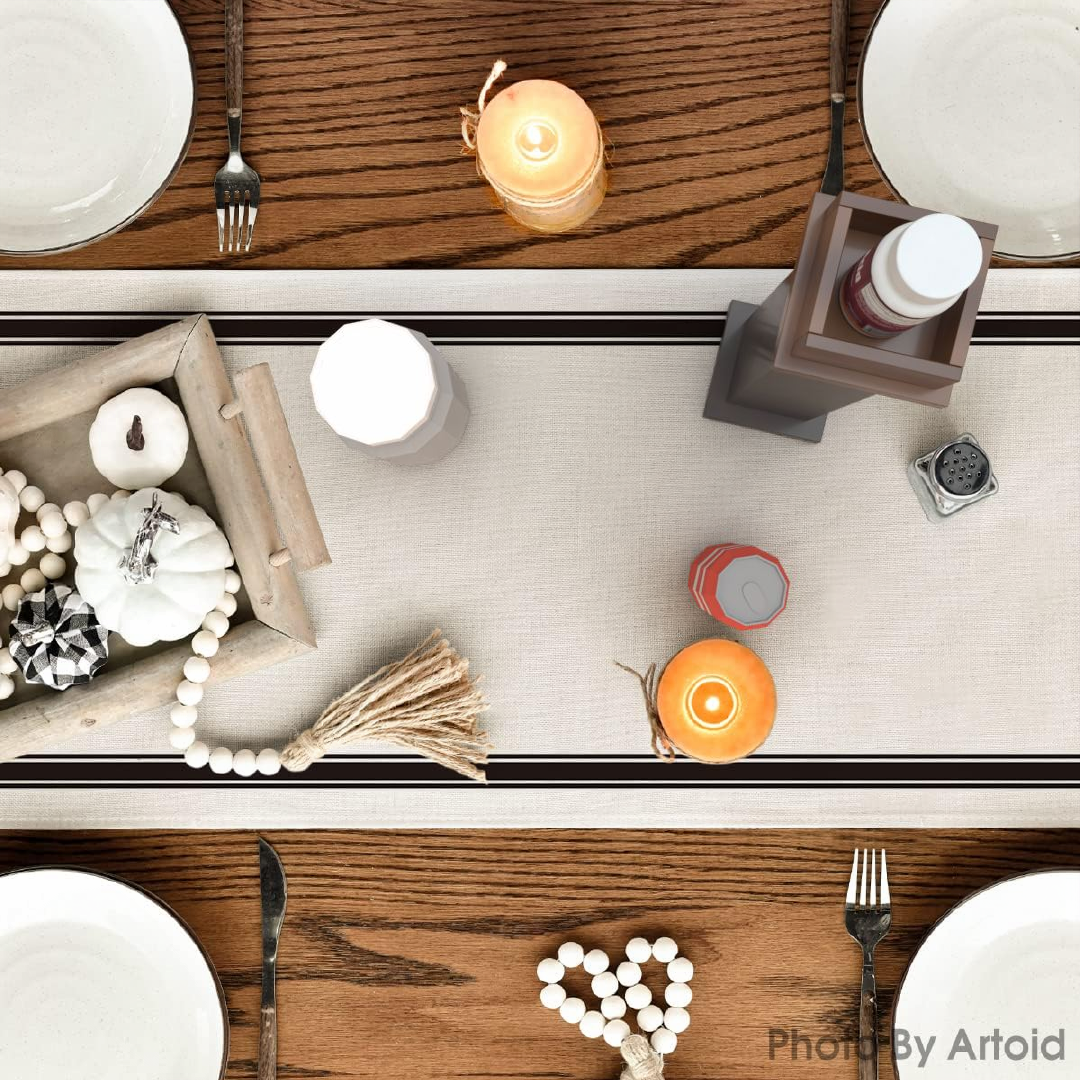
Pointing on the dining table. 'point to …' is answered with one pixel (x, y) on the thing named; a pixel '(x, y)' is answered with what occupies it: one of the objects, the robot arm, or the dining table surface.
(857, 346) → the socket cup
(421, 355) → the jar
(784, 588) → the beverage can
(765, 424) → the pedestal
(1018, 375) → the dining table surface
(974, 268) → the pill bottle
